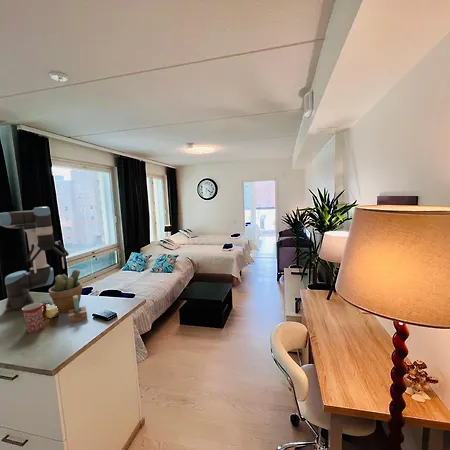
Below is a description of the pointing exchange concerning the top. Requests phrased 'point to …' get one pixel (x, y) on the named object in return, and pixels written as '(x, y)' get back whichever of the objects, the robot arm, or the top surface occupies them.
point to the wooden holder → (77, 315)
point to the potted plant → (66, 291)
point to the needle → (76, 304)
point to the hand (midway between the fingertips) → (50, 270)
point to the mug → (34, 316)
